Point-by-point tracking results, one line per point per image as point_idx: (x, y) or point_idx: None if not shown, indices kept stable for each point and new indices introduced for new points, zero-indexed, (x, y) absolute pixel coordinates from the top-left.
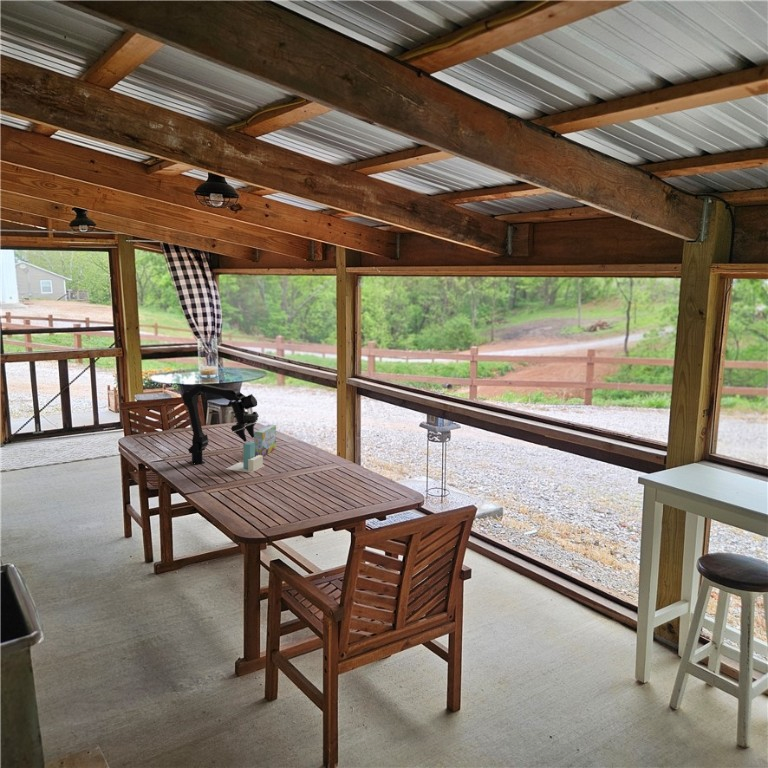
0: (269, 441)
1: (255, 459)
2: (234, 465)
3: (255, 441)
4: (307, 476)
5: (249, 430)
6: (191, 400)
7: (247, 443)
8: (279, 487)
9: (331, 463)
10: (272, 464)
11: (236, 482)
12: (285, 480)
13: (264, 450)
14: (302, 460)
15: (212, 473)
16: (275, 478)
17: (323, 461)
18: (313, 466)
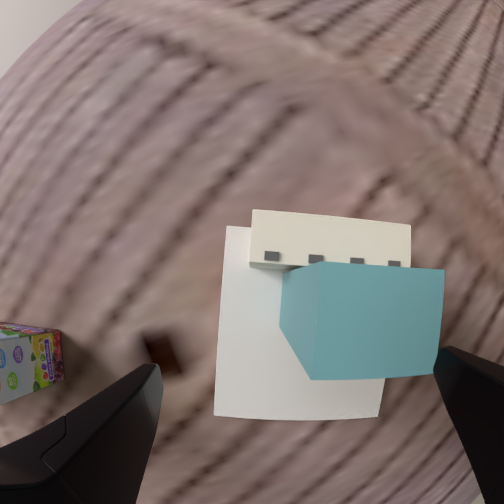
0: None
1: (379, 221)
2: (294, 412)
3: (1, 392)
4: (297, 10)
5: (114, 500)
6: None
7: (403, 338)
8: (460, 75)
9: (96, 16)
10: (150, 211)
11: (500, 253)
12: (390, 63)
13: (12, 327)
14: (58, 111)
15: (423, 435)
16: (391, 103)
17: (71, 44)
18: (144, 34)
